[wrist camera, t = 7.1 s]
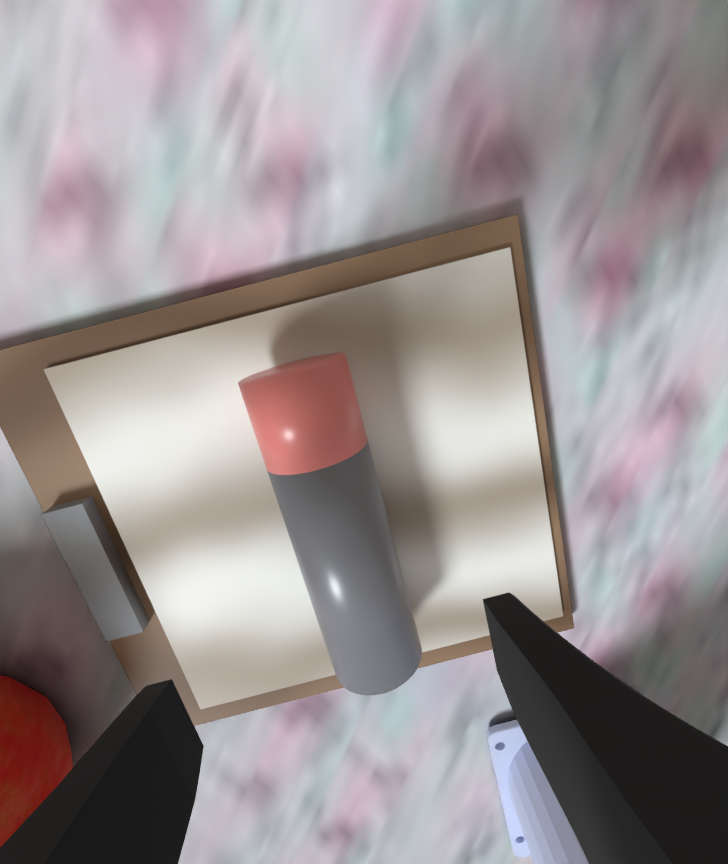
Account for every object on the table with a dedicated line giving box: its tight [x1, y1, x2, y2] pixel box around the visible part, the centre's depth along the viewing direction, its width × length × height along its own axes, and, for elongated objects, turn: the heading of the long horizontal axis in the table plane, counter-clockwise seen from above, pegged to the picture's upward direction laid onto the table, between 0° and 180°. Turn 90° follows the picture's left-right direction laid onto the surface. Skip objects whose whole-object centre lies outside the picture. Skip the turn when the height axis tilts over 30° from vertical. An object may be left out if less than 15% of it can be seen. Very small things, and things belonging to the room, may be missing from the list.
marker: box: [238, 353, 422, 695], centre depth 17 cm, size 13×4×4 cm, turn 14°
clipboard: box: [0, 214, 574, 726], centre depth 18 cm, size 18×20×1 cm
